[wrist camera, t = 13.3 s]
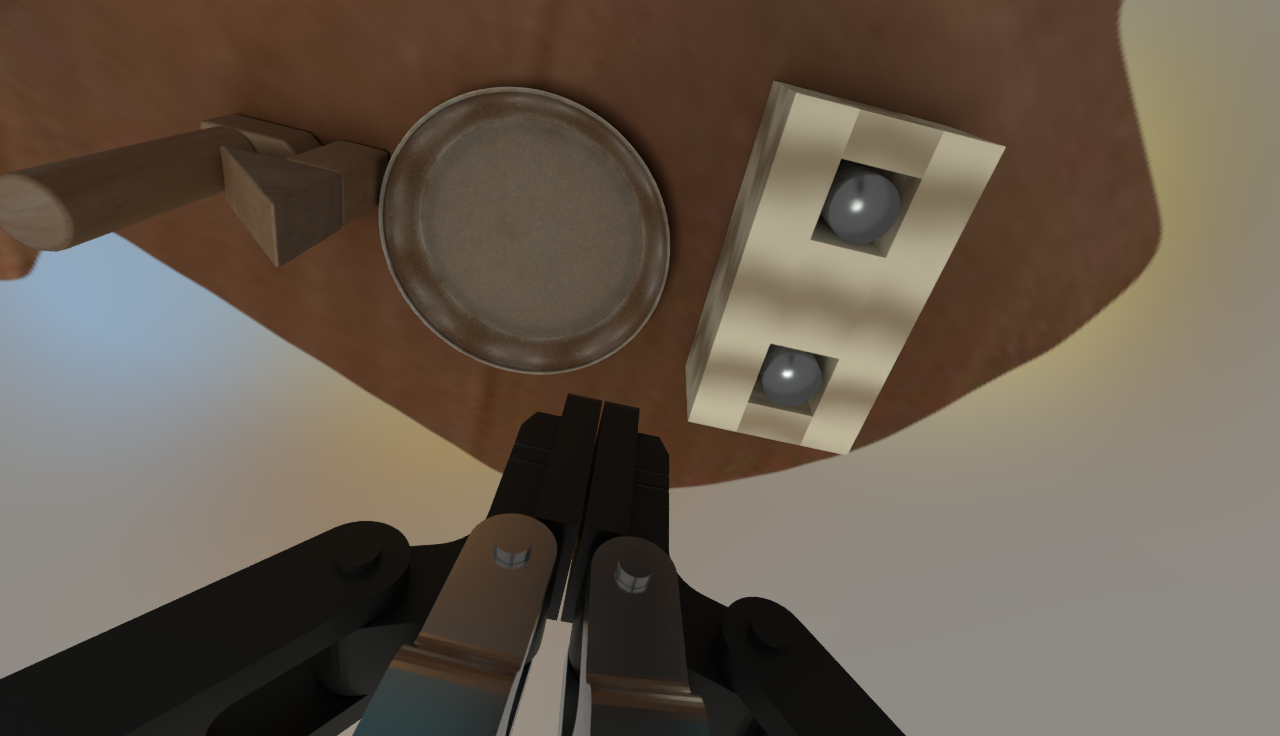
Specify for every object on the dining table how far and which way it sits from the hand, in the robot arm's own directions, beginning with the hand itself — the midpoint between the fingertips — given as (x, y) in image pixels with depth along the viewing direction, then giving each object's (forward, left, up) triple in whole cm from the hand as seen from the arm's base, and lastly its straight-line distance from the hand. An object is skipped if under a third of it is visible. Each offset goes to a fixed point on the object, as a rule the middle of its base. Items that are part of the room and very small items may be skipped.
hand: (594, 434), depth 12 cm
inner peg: (-1, +13, -33) cm, 35 cm away
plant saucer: (+8, -7, -34) cm, 35 cm away
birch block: (+5, +13, -33) cm, 36 cm away
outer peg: (+11, +13, -33) cm, 37 cm away
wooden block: (+6, -23, -33) cm, 41 cm away
